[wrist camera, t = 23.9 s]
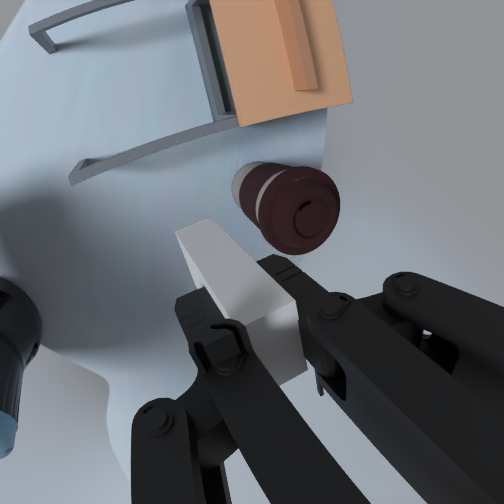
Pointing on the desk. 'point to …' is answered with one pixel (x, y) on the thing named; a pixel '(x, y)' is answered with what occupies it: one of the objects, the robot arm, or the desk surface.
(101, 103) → the desk surface
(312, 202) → the coffee cup
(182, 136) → the housing
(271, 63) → the lid
